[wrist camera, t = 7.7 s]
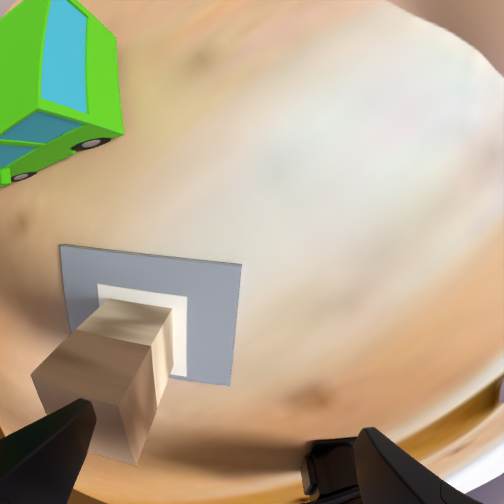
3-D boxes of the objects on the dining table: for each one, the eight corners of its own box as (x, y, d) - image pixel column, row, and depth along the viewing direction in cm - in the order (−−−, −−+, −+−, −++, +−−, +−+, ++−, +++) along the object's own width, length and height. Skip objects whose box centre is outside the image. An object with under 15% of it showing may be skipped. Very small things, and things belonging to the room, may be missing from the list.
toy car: (6, 99, 15) (-68, 85, 6) (122, 34, 15) (57, -31, 5) (12, 200, 18) (-73, 218, 8) (133, 151, 17) (38, 131, 8)
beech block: (172, 308, 19) (150, 345, 14) (173, 365, 20) (157, 408, 15) (109, 298, 19) (75, 329, 14) (115, 353, 20) (89, 390, 15)
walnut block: (157, 408, 15) (136, 466, 11) (90, 390, 15) (58, 438, 10) (151, 346, 14) (118, 406, 9) (76, 329, 14) (30, 374, 9)
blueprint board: (241, 264, 19) (241, 267, 18) (230, 381, 21) (230, 386, 21) (64, 244, 19) (59, 246, 18) (78, 352, 21) (75, 356, 20)
